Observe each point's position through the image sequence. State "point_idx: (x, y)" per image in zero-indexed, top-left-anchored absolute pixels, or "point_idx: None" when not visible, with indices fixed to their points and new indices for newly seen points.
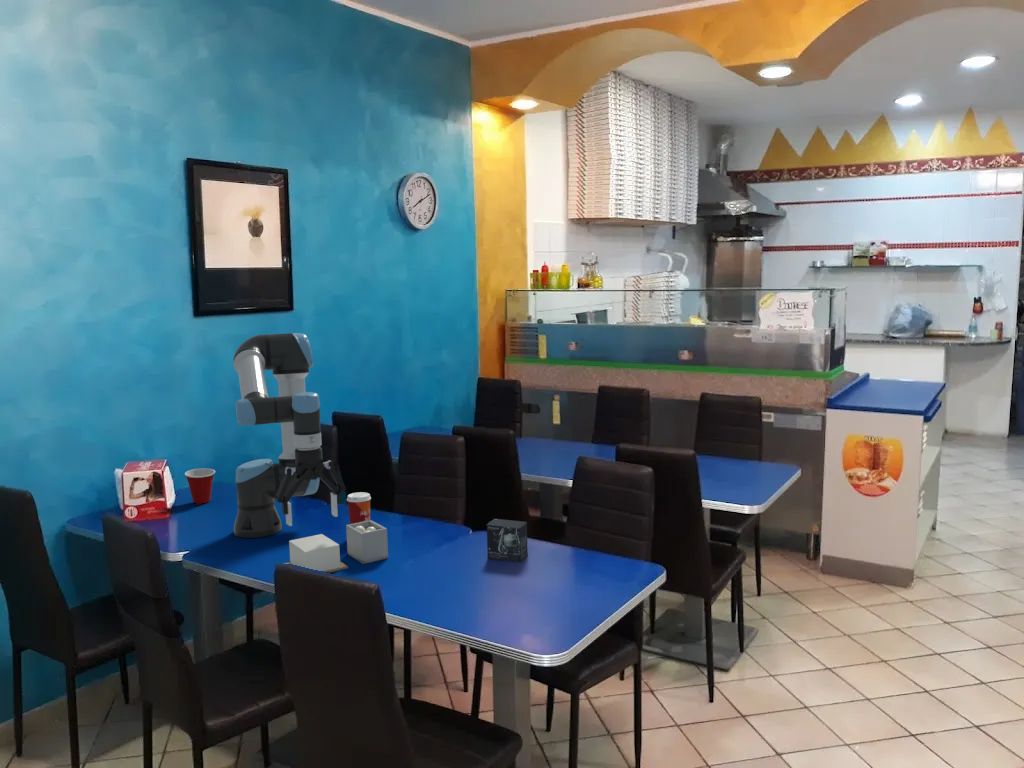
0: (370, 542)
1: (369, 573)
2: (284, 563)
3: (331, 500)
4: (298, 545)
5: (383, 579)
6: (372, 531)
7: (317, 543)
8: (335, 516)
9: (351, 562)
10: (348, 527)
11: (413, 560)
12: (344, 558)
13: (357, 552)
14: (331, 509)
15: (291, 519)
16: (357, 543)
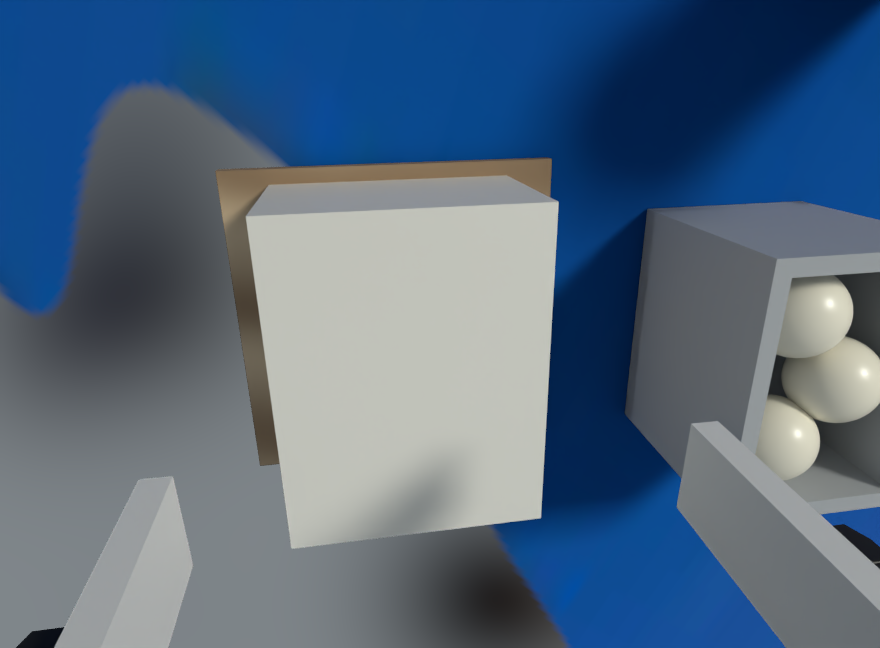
0: None
1: (580, 539)
2: (226, 176)
3: (808, 559)
4: (287, 387)
5: (588, 623)
6: None
7: (430, 419)
8: (681, 508)
9: (591, 357)
10: (760, 303)
11: None
12: (595, 271)
13: (654, 371)
14: (727, 460)
15: (169, 627)
16: (685, 406)
